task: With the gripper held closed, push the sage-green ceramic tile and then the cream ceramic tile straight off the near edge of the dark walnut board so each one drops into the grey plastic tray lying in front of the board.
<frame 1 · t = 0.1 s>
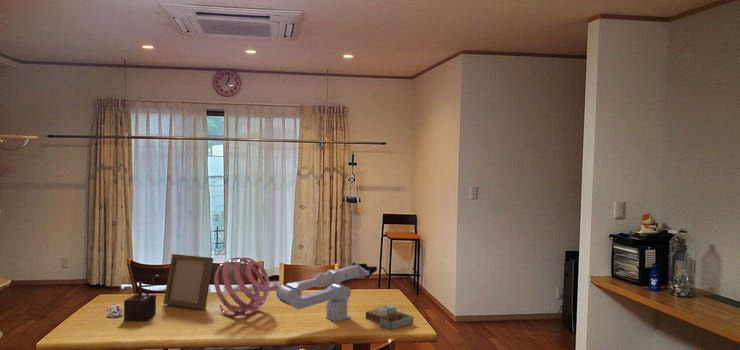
hand: (371, 267, 240), 22 cm above the table, tool horizontal, fingers open, 7 cm apart
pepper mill: (143, 316, 225), on the table
tray: (396, 325, 219), on the table
spiral basket: (242, 314, 231), on the table
board: (384, 318, 228), on the table
photo frame: (191, 304, 244), on the table
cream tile: (380, 314, 225), point 3 cm above the table, touching board
sage tile: (389, 312, 229), point 3 cm above the table, touching board
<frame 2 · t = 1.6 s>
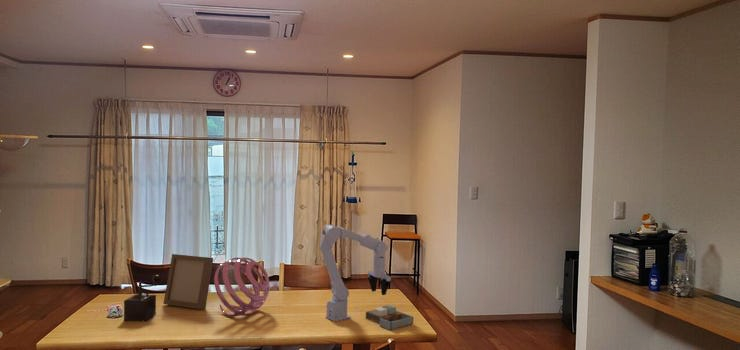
hand: (378, 292, 234), 10 cm above the table, tool pointing down, fingers open, 7 cm apart
nothing on the table moved.
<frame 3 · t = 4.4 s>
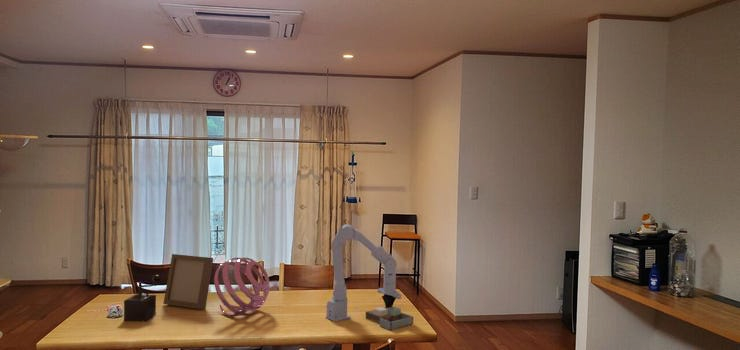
hand: (388, 310, 229), 4 cm above the table, tool pointing down, fingers closed
sage tile: (393, 313, 226), point 3 cm above the table, touching gripper
everything else where it was.
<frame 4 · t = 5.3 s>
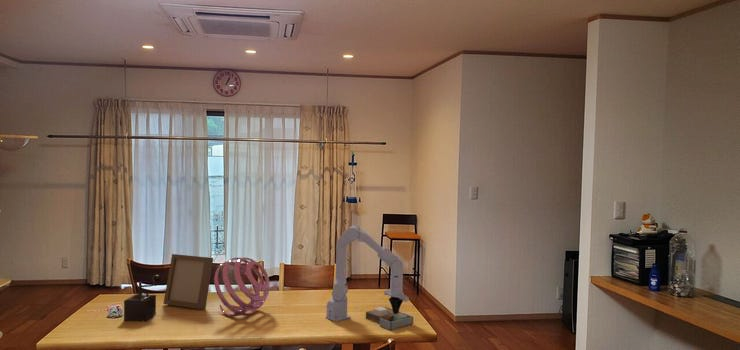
hand: (395, 313, 225), 4 cm above the table, tool pointing down, fingers closed
sage tile: (400, 321, 223), point 1 cm above the table, touching tray
everything else where it was.
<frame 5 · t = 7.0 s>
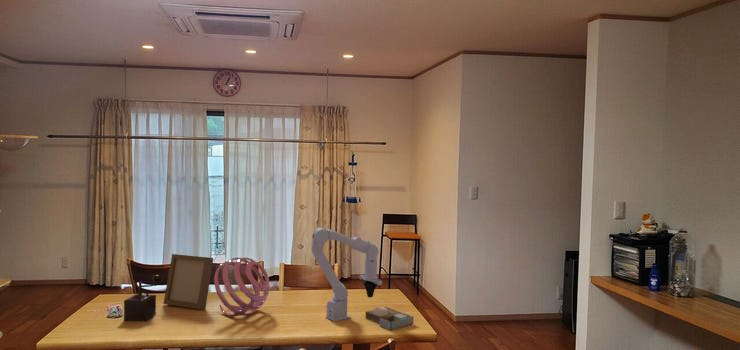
hand: (370, 296, 231), 9 cm above the table, tool pointing down, fingers closed
nothing on the table moved.
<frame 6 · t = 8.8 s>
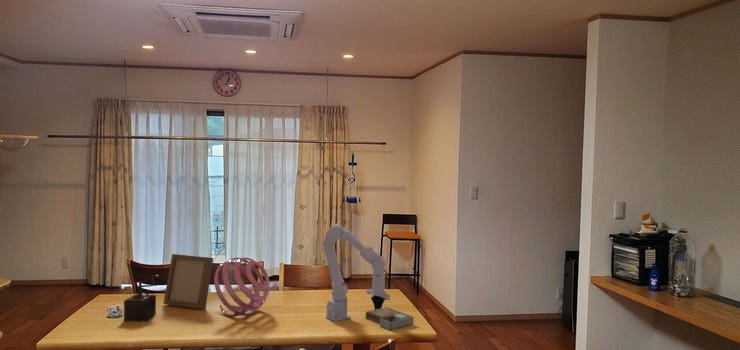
hand: (377, 311, 226), 4 cm above the table, tool pointing down, fingers closed
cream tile: (382, 315, 224), point 3 cm above the table, touching board, gripper
everything else where it was.
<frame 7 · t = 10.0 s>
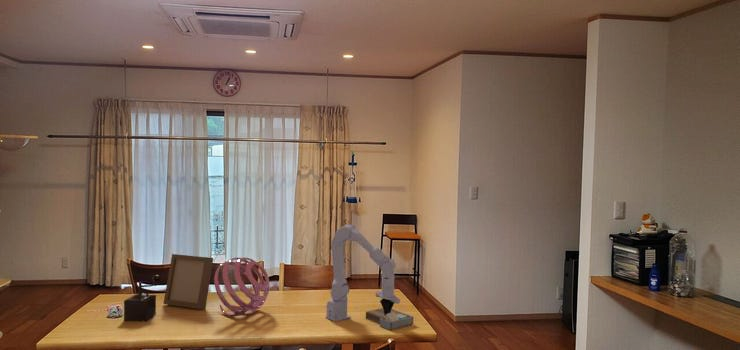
hand: (387, 315, 221), 4 cm above the table, tool pointing down, fingers closed
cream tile: (390, 320, 220), point 2 cm above the table, tilted 34°, touching gripper, tray
everything else where it was.
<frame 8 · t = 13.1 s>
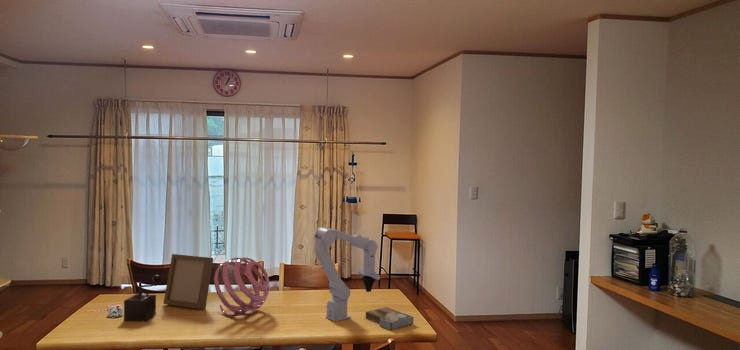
hand: (368, 291, 237), 10 cm above the table, tool pointing down, fingers closed
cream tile: (390, 320, 220), point 2 cm above the table, tilted 34°, touching board, tray
everything else where it was.
at the end: sage tile inside the target area on the tray (4.2 cm from its centre), point 0.6 cm above the tray's base; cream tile inside the target area on the tray (2.5 cm from its centre), point 1.9 cm above the tray's base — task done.
